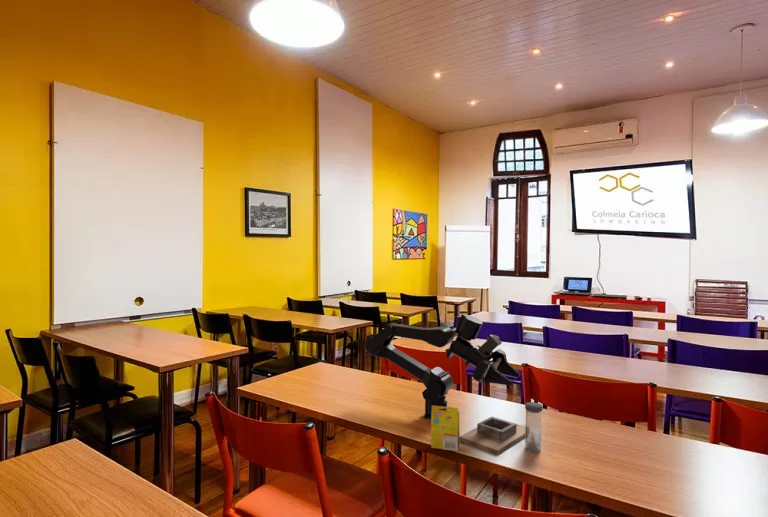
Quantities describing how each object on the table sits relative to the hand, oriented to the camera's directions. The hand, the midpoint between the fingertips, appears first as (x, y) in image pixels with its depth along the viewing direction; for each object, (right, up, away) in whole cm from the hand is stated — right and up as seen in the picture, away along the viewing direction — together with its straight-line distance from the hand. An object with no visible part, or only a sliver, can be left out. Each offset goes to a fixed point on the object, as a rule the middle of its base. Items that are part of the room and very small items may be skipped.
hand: (515, 379), depth 130 cm
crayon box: (-22, -16, -10) cm, 29 cm away
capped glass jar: (+2, -16, -10) cm, 19 cm away
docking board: (-6, -16, -2) cm, 17 cm away
